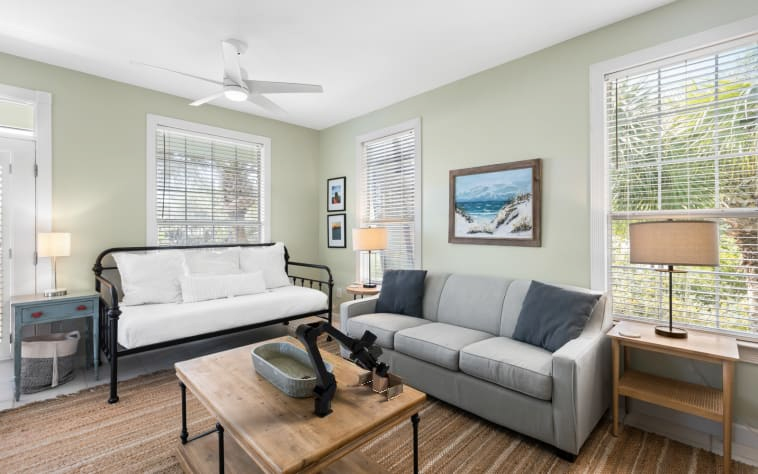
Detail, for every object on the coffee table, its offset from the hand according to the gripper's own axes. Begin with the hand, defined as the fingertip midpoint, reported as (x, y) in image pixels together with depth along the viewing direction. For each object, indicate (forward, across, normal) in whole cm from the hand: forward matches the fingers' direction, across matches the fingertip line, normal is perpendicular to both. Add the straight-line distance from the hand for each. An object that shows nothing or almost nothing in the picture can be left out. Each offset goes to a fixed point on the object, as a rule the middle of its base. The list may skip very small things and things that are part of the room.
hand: (381, 374), depth 168 cm
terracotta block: (+5, 0, +6) cm, 7 cm away
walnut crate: (+5, 0, +6) cm, 7 cm away
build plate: (-12, +27, +23) cm, 38 cm away
